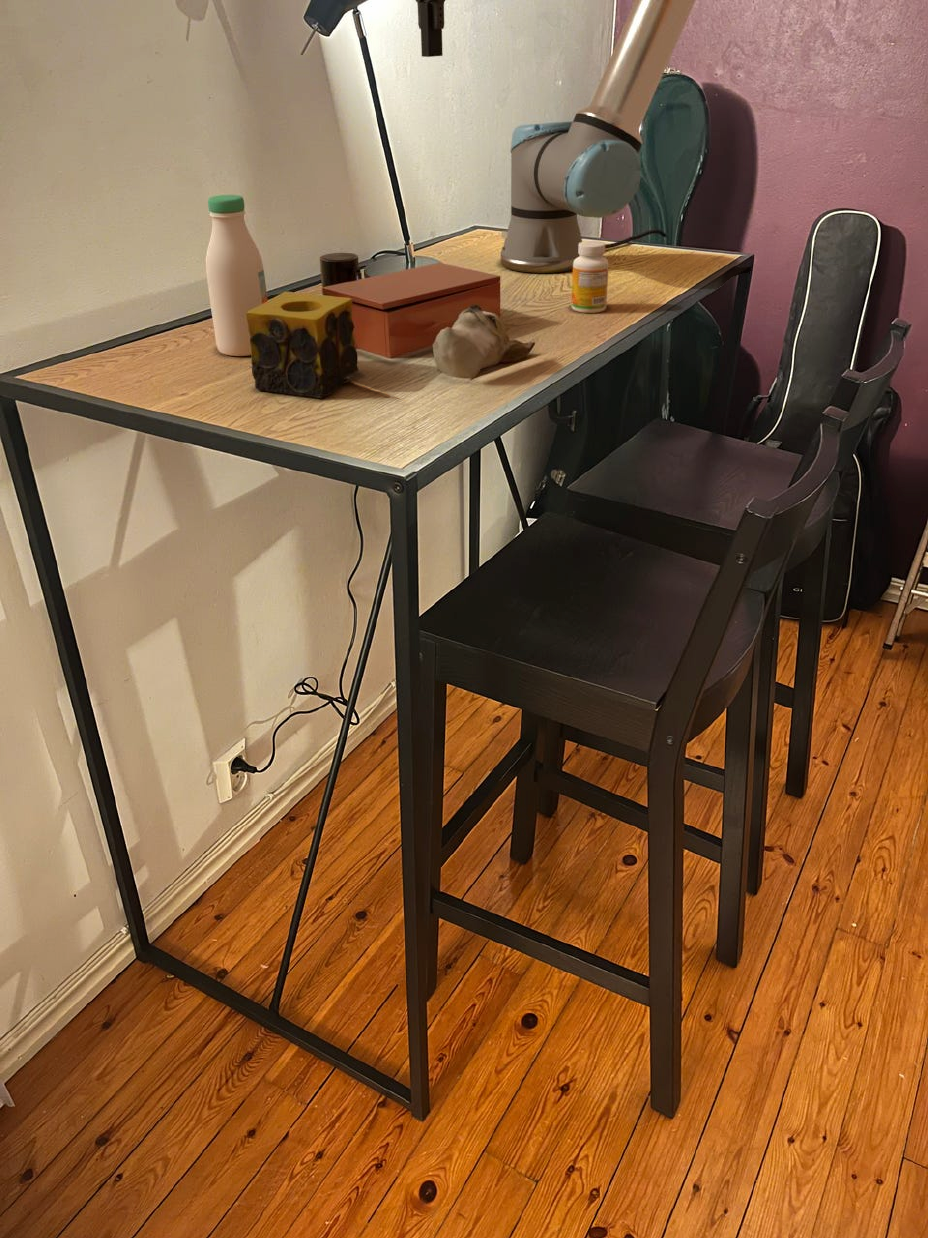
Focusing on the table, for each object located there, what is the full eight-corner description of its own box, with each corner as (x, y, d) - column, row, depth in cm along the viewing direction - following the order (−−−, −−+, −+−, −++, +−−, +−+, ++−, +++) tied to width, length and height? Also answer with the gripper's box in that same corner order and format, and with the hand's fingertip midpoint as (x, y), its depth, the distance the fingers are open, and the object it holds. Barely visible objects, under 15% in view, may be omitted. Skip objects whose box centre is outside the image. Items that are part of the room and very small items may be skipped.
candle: (292, 366, 136) (284, 290, 130) (360, 374, 132) (355, 296, 127) (252, 391, 127) (241, 310, 122) (323, 400, 124) (316, 318, 119)
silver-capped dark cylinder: (317, 322, 153) (311, 256, 148) (346, 314, 157) (341, 250, 152) (349, 332, 149) (344, 264, 144) (378, 323, 152) (374, 257, 147)
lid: (382, 309, 131) (382, 303, 131) (322, 293, 139) (321, 287, 139) (500, 281, 145) (500, 275, 145) (439, 267, 153) (439, 262, 152)
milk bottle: (261, 358, 139) (241, 202, 128) (208, 355, 140) (184, 201, 129) (281, 341, 145) (264, 192, 134) (230, 339, 146) (209, 191, 136)
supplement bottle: (576, 303, 160) (578, 238, 155) (609, 305, 159) (613, 240, 154) (567, 311, 156) (569, 246, 151) (601, 314, 154) (605, 248, 149)
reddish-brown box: (390, 364, 136) (387, 312, 132) (331, 345, 143) (326, 296, 140) (500, 329, 149) (500, 281, 145) (440, 313, 156) (439, 268, 153)
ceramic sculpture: (410, 308, 126) (472, 289, 137) (410, 377, 130) (470, 353, 141) (484, 321, 121) (542, 299, 132) (481, 392, 125) (538, 365, 137)
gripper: (371, -149, 134) (382, 56, 146) (440, -159, 126) (445, 58, 138) (413, -145, 138) (420, 53, 151) (482, -154, 130) (483, 55, 143)
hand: (432, 55), depth 145 cm, fingers closed
